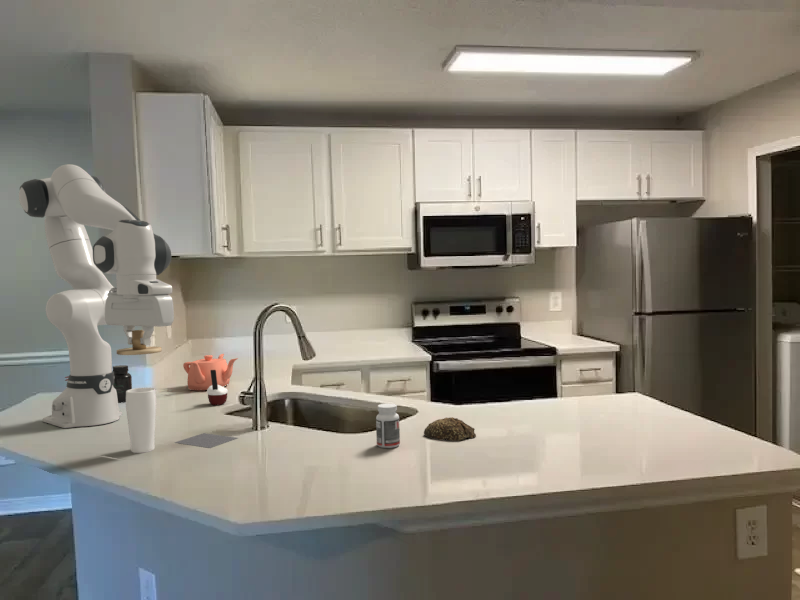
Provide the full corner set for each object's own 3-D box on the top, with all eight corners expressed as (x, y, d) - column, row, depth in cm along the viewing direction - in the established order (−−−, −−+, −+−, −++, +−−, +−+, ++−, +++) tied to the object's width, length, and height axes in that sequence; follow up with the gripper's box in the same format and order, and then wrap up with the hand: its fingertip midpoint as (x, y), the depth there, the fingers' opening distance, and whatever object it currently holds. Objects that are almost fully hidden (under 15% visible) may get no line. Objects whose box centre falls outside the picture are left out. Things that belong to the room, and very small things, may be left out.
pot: (240, 389, 232) (239, 355, 232) (192, 394, 223) (192, 359, 222) (224, 382, 248) (223, 351, 247) (179, 387, 238) (178, 354, 238)
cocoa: (217, 402, 210) (216, 366, 210) (233, 402, 208) (232, 366, 208) (199, 407, 201) (198, 369, 201) (216, 407, 199) (215, 369, 199)
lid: (107, 354, 148) (106, 331, 147) (142, 349, 156) (141, 328, 156) (135, 355, 143) (134, 332, 143) (170, 350, 152) (169, 329, 151)
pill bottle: (403, 443, 154) (402, 403, 154) (395, 449, 149) (394, 408, 148) (381, 441, 156) (380, 402, 156) (373, 447, 151) (372, 407, 150)
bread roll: (417, 436, 161) (417, 417, 161) (447, 427, 170) (447, 409, 170) (456, 445, 153) (456, 425, 152) (485, 435, 162) (485, 416, 161)
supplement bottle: (118, 398, 217) (116, 364, 216) (136, 399, 216) (135, 364, 215) (106, 402, 210) (105, 367, 209) (125, 403, 209) (123, 367, 208)
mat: (174, 444, 157) (174, 442, 157) (203, 434, 166) (203, 433, 166) (210, 449, 151) (210, 447, 151) (238, 439, 160) (238, 437, 160)
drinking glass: (147, 456, 147) (144, 393, 146) (121, 454, 148) (119, 392, 147) (163, 448, 153) (161, 387, 153) (138, 447, 155) (136, 387, 154)
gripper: (96, 287, 151) (98, 344, 151) (156, 287, 141) (158, 347, 142) (118, 287, 156) (121, 341, 157) (177, 286, 147) (179, 344, 148)
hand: (139, 344), depth 149 cm, fingers closed on lid, 3 cm apart
